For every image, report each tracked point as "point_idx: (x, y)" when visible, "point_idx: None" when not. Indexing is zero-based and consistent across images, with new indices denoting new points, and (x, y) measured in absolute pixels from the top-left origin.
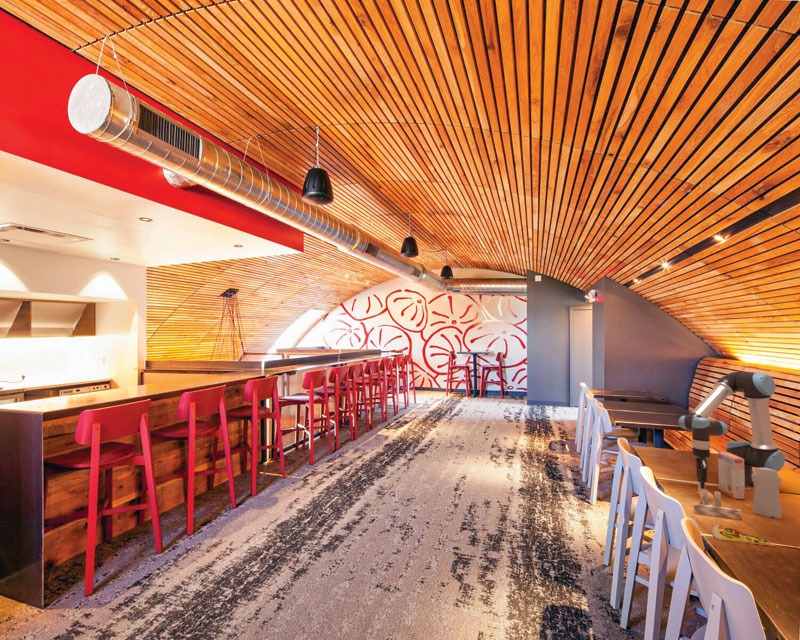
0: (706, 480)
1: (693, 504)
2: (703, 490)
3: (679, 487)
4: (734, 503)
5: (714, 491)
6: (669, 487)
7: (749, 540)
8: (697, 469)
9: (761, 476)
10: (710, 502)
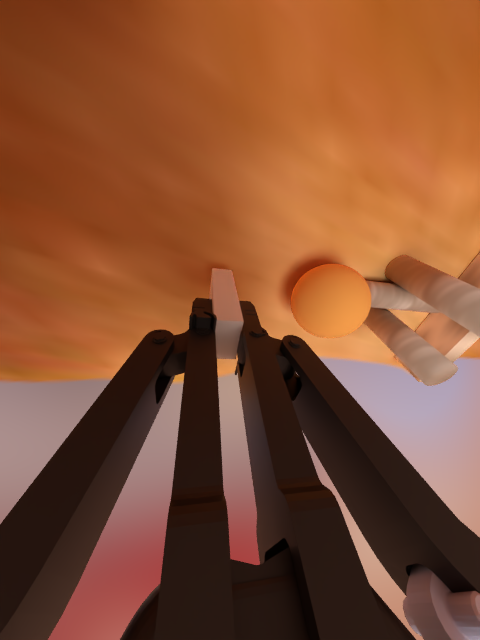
0: (311, 350)
1: (416, 378)
2: (435, 381)
3: (57, 332)
4: (290, 47)
5: (477, 335)
6: (98, 370)
7: None
8: (135, 459)
9: None
10: (373, 297)
